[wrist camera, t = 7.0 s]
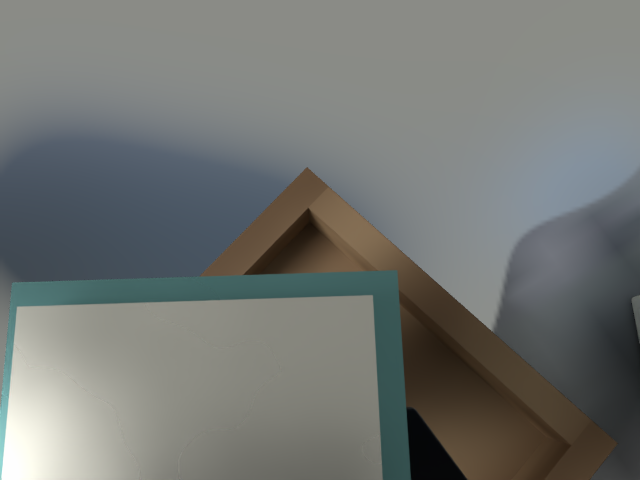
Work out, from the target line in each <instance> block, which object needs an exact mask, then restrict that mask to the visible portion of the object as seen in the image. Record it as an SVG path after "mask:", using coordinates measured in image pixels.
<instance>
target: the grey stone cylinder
mask: <svg viewBox="0 0 640 480" xmlns="http://www.w3.org/2000/svg"><path fill="white" fill-rule="evenodd" d="M631 300H632V306H633V311H634V316H635V322H636V327H637V333H638V338H639V343H640V295H638V296H635V297H633V298H632V299H631Z"/></svg>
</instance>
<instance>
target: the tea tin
mask: <svg viewBox="0 0 640 480" xmlns="http://www.w3.org/2000/svg"><path fill="white" fill-rule="evenodd" d="M0 480H411V474H410V459H409V443H408V428H407V412H406V397H405V381H404V366H403V350H402V335H401V319H400V304H399V288H398V273H397V270H387V271H357V272H326V273H295V274H264V275H234V276H203V277H172V278H145V279H144V278H141V279H110V280H81V281H49V282H20V283H19V282H18V283H12V291H11V301H10V312H9V323H8V333H7V344H6V356H5V365H4V376H3V388H2V398H1V408H0Z"/></svg>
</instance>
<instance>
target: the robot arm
mask: <svg viewBox="0 0 640 480" xmlns="http://www.w3.org/2000/svg"><path fill="white" fill-rule="evenodd" d="M406 412H407V428H408V443H409V459H410V474H411V480H468V479H467V478H466V477H465V475H464V474H463V473H462V471H461V470H460V469H459V467H458V466H457V464H456V463H455V462H454V460H453V459H452V458H451V456H450V455H449V454H448V452H447V451H446V449H445V448H444V447H443V445H442V444H441V443H440V441H439V440H438V439H437V437H436V436H435V435H434V433H433V432H432V430H431V429H430V428H429V426H428V425H427V424H426V422H425V421H424V420H423V418H422V417H421V415H420V414H419V413H418V412H417V410H416V409H415V408H413V407H406Z"/></svg>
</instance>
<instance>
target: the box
mask: <svg viewBox="0 0 640 480" xmlns="http://www.w3.org/2000/svg"><path fill="white" fill-rule="evenodd" d="M387 270H397V273H398V288H399V304H400V319H401V335H402V350H403V366H404V381H405V397H406V407H413V408H415V409H416V410H417V412H418V413H419V414H420V415H421V417H422V418H423V420H424V421H425V422H426V424H427V425H428V426H429V428H430V429H431V430H432V432H433V433H434V435H435V436H436V437H437V439H438V440H439V441H440V443H441V444H442V445H443V447H444V448H445V449H446V451H447V452H448V454H449V455H450V456H451V458H452V459H453V460H454V462H455V463H456V464H457V466H458V467H459V469H460V470H461V471H462V473H463V474H464V475H465V477H466V478H467V479H468V480H590V479H591V477H592V476H593V475H594V473H595V472H596V471H597V470H598V468H599V467H600V466H601V464H602V463H603V462H604V461H605V459H606V458H607V457H608V455H609V454H610V453H611V452H612V450H613V449H614V448H615V446H616V445H617V444H618V443H617V442H616V441H615V440H613V439H612V438H611V437H610V436H609V435H608V434H607V433H606V432H604V431H603V430H602V429H601V428H600V427H599V426H598V425H597V424H595V423H594V422H593V421H592V420H591V419H590V418H589V417H588V416H586V415H585V414H584V413H583V412H582V411H581V410H580V409H578V408H577V407H576V406H575V405H574V404H573V403H572V402H571V401H569V400H568V399H567V398H566V397H565V396H564V395H563V394H562V393H560V392H559V391H558V390H557V389H556V388H555V387H554V386H553V385H551V384H550V383H549V382H548V381H547V380H546V379H545V378H544V377H542V376H541V375H540V374H539V373H538V372H537V371H536V370H535V369H533V368H532V367H531V366H530V365H529V364H528V363H527V362H526V361H524V360H523V359H522V358H521V357H520V356H519V355H518V354H517V353H515V352H514V351H513V350H512V349H511V348H510V347H509V346H508V345H506V344H505V343H504V342H503V341H502V340H501V339H500V338H499V337H497V336H496V335H495V334H494V333H493V332H492V331H491V330H490V329H488V328H487V327H486V326H485V325H484V324H483V323H482V322H481V321H479V320H478V319H477V318H476V317H475V316H474V315H473V314H471V313H470V312H469V311H468V310H467V309H466V308H465V307H464V306H463V305H461V304H460V303H459V302H458V301H457V300H456V299H455V298H453V297H452V296H451V295H450V294H449V293H448V292H447V291H446V290H445V289H443V288H442V287H441V286H440V285H439V284H438V283H437V282H435V281H434V280H433V279H432V278H431V277H430V276H429V275H428V274H427V273H425V272H424V271H423V270H422V269H421V268H420V267H418V265H416V264H415V263H414V262H413V261H412V260H411V259H410V258H409V257H407V256H406V255H405V254H404V253H403V252H402V251H401V250H399V249H398V248H397V247H396V246H395V245H394V244H393V243H392V242H391V241H389V240H388V239H387V238H386V237H385V236H384V235H382V234H381V233H380V232H379V231H378V230H377V229H376V228H375V227H374V226H372V225H371V224H370V223H369V222H368V221H367V220H366V219H365V218H363V217H362V216H361V215H360V214H359V213H358V212H357V211H355V210H354V209H353V208H352V207H351V206H350V205H349V204H348V203H347V202H345V201H344V200H343V199H342V198H341V197H340V196H339V195H338V194H336V193H335V192H334V191H333V190H332V189H331V188H330V187H328V186H327V185H326V184H325V183H324V182H323V181H322V180H321V179H320V178H318V177H317V176H316V175H315V174H314V173H313V172H312V171H311V170H309V169H308V168H306V169H305V170H304V171H303V172H302V173H301V174H300V175H299V176H298V177H297V178H296V179H295V180H294V181H293V182H292V183H291V184H290V185H289V186H288V187H287V188H286V189H285V190H284V191H283V192H282V193H281V194H280V195H279V196H278V197H277V198H276V199H275V200H274V201H273V202H272V203H271V204H270V205H269V206H268V207H267V208H266V209H265V211H264V212H263V213H262V214H261V215H260V216H259V217H258V218H257V219H256V220H255V221H254V222H253V223H252V224H251V225H250V226H249V227H248V228H247V229H246V230H245V231H244V232H243V233H242V234H241V235H240V236H239V237H238V238H237V239H236V240H235V241H234V242H233V243H232V244H231V245H230V246H229V247H228V248H227V249H226V250H225V251H224V252H223V253H222V254H221V255H220V256H219V257H218V258H217V259H216V260H215V261H214V262H213V263H212V264H211V265H210V266H209V267H208V268H207V269H206V270H205V271H204V272H203V273H202V274H201V276H199V277H203V276H234V275H264V274H295V273H326V272H357V271H387Z"/></svg>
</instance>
